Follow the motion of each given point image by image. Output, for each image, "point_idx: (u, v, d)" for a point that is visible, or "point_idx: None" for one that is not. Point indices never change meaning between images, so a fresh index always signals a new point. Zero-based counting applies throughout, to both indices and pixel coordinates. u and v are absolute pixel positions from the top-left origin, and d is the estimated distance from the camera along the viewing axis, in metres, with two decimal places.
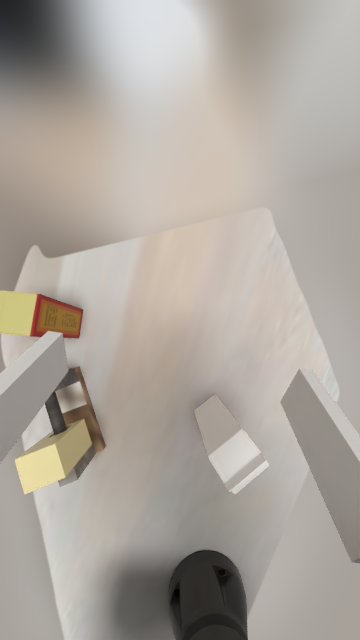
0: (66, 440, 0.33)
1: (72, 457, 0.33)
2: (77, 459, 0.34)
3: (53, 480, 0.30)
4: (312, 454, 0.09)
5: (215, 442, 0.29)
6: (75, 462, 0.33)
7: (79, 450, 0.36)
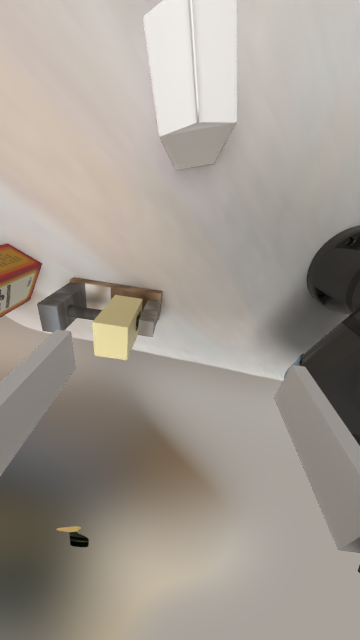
0: (105, 314, 0.31)
1: (124, 316, 0.32)
2: (132, 313, 0.33)
3: (125, 337, 0.30)
4: (303, 448, 0.10)
5: None
6: (131, 316, 0.32)
7: (130, 309, 0.34)
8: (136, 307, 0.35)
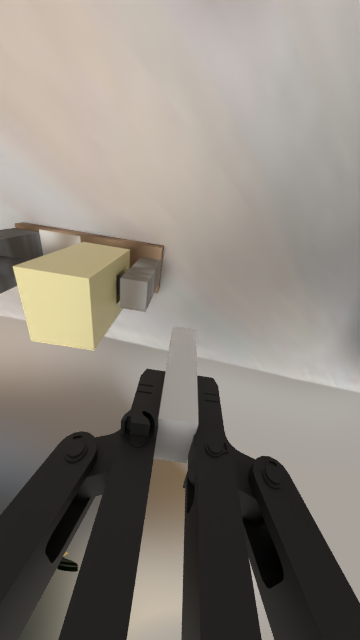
0: (50, 258, 0.16)
1: (89, 264, 0.16)
2: (106, 262, 0.17)
3: (86, 301, 0.15)
4: None
5: None
6: (103, 265, 0.17)
7: (104, 258, 0.18)
8: (116, 256, 0.19)
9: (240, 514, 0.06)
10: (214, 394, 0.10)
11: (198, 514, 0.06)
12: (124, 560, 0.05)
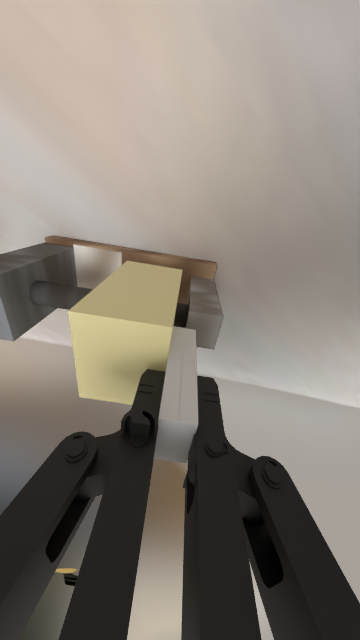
0: (106, 292, 0.12)
1: (155, 298, 0.13)
2: (172, 294, 0.13)
3: (162, 354, 0.11)
4: None
5: None
6: (172, 299, 0.13)
7: (164, 285, 0.15)
8: (176, 282, 0.15)
9: (240, 514, 0.06)
10: (214, 394, 0.10)
11: (198, 514, 0.06)
12: (124, 560, 0.05)
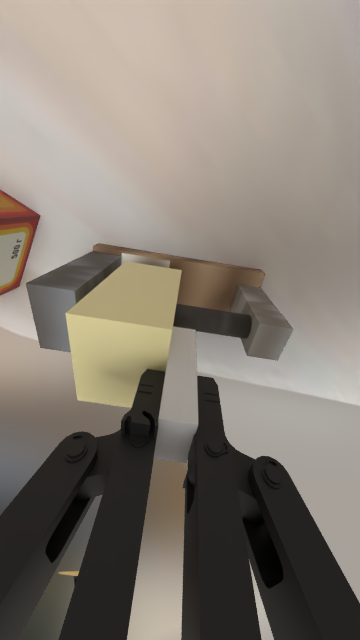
0: (104, 294, 0.12)
1: (154, 300, 0.12)
2: (172, 295, 0.13)
3: (161, 356, 0.11)
4: None
5: None
6: (172, 300, 0.13)
7: (163, 286, 0.15)
8: (176, 283, 0.15)
9: (240, 514, 0.06)
10: (214, 394, 0.10)
11: (198, 514, 0.06)
12: (124, 560, 0.05)
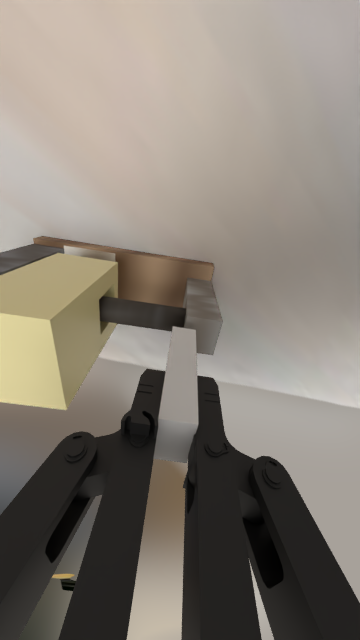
0: None
1: (57, 290, 0.11)
2: (83, 286, 0.12)
3: (48, 350, 0.10)
4: None
5: None
6: (78, 290, 0.12)
7: (81, 277, 0.14)
8: (98, 274, 0.14)
9: (240, 514, 0.06)
10: (214, 394, 0.10)
11: (198, 514, 0.06)
12: (124, 560, 0.05)
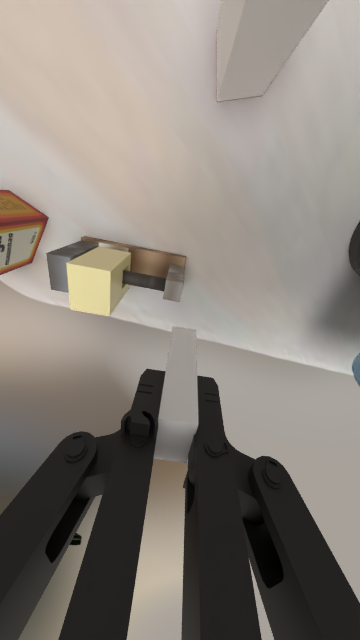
0: (83, 258, 0.26)
1: (107, 262, 0.26)
2: (117, 261, 0.27)
3: (107, 284, 0.25)
4: None
5: None
6: (116, 263, 0.27)
7: (115, 258, 0.29)
8: (123, 257, 0.29)
9: (240, 514, 0.06)
10: (214, 394, 0.10)
11: (198, 514, 0.06)
12: (124, 560, 0.05)
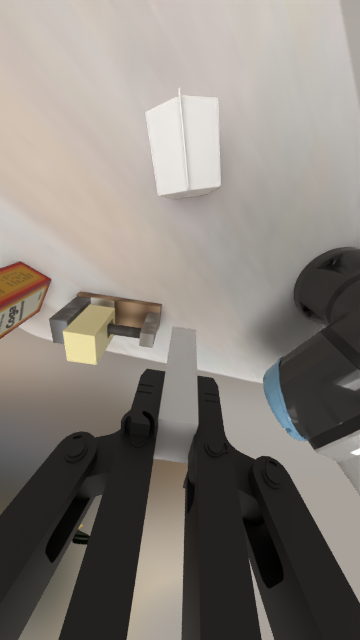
0: (76, 323, 0.35)
1: (94, 325, 0.35)
2: (102, 322, 0.36)
3: (93, 344, 0.34)
4: None
5: None
6: (100, 325, 0.36)
7: (100, 318, 0.38)
8: (107, 316, 0.38)
9: (240, 514, 0.06)
10: (214, 394, 0.10)
11: (198, 514, 0.06)
12: (124, 560, 0.05)
